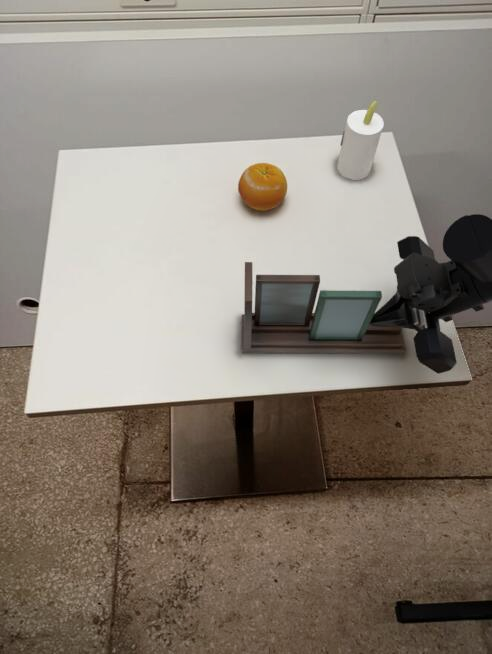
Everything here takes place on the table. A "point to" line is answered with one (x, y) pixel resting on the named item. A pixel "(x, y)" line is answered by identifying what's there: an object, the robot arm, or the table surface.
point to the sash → (343, 315)
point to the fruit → (262, 186)
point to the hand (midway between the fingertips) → (370, 322)
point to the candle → (359, 143)
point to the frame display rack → (299, 320)
